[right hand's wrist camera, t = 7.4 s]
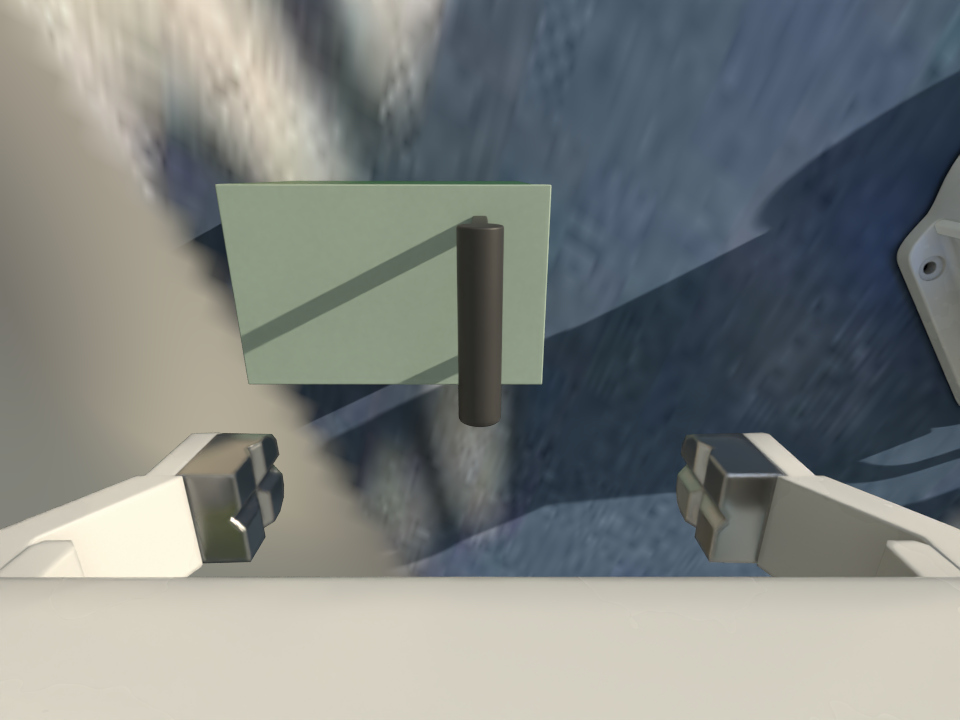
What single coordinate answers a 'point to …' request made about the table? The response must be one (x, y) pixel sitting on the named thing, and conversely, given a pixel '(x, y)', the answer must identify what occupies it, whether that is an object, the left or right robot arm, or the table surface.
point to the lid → (391, 284)
